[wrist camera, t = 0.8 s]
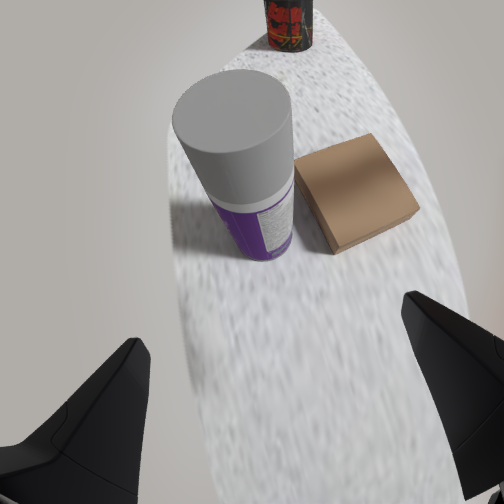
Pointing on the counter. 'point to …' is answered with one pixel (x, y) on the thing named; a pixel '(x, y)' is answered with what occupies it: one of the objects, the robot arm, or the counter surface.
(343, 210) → the base block
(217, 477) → the counter surface
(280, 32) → the deodorant
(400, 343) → the counter surface
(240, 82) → the container
